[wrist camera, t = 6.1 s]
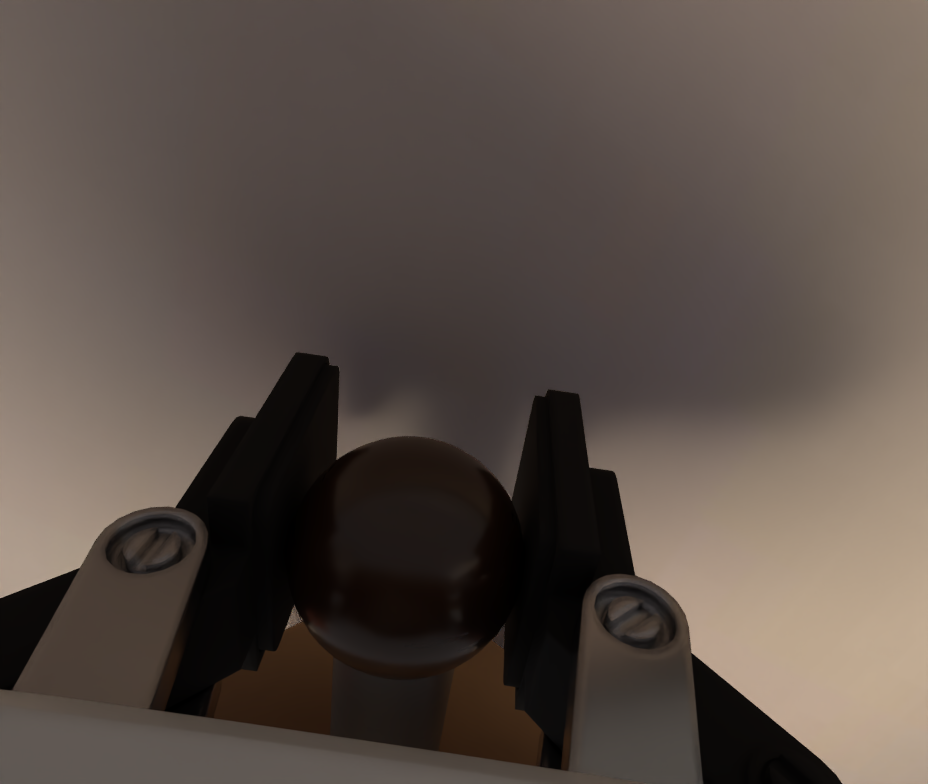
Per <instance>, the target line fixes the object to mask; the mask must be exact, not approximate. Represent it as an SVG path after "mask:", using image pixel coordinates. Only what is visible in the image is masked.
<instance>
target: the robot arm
mask: <svg viewBox="0 0 928 784" xmlns="http://www.w3.org/2000/svg"><path fill="white" fill-rule="evenodd" d="M338 400H339V367H338V366H333V365H330V363H329V358H328V357H327V356H320V355H313V354H307V353H300V352H296V353H295V355H294V356H293V358H292V359H291V361H290V362H289V364H288V366H287V367H286V369H285V371H284V372H283V374H282V375H281V377H280V379H279V380H278V382H277V383H276V385H275V387H274V388H273V390H272V391H271V393H270V395H269V396H268V398H267V400H266V401H265V403H264V404H263V406H262V408H261V409H260V411H259V412H258V414H257V416H256V417H255V418H251V417H245V416H239V417H236V419H235V420H234V421H233V422H232V423H231V425H230V426H229V428H228V429H227V431H226V432H225V434H224V435H223V437H222V438H221V440H220V441H219V443H218V444H217V446H216V447H215V449H214V450H213V452H212V453H211V455H210V456H209V458H208V459H207V461H206V462H205V464H204V465H203V467H202V468H201V470H200V471H199V473H198V474H197V476H196V477H195V479H194V480H193V482H192V483H191V485H190V486H189V488H188V489H187V491H186V492H185V494H184V495H183V497H182V498H181V500H180V501H179V503H178V504H177V506H176V507H175V508H173V507H151V508H147V509H143V510H139V511H134V512H132V513H130V514H128V515H125V516H123V517H121V518H119V519H117V520H116V521H114V522H113V523H112V524H110V525H109V526H108V527H106V528H105V529H104V530H103V531H102V533H101V534H100V535H99V536H98V538H97V539H96V540H95V542H94V544H93V546H92V548H91V549H90V551H89V553H88V555H87V557H86V558H85V560H84V562H83V564H82V566H81V567H80V568H79V569H76V570H73V571H71V572H68V573H66V574H63V575H60V576H58V577H55V578H52V579H50V580H47V581H45V582H42V583H39V584H37V585H34V586H32V587H29V588H26V589H24V590H21V591H18V592H16V593H13V594H11V595H8V596H5V597H3V598H0V784H842V783H841V781H840V780H839V778H838V777H837V776H836V774H835V773H834V772H833V771H832V770H831V769H830V768H829V767H828V766H827V765H826V764H824V763H823V762H822V761H821V760H820V759H819V758H818V757H817V756H816V755H815V754H813V753H812V752H811V751H810V750H808V749H807V748H806V747H805V746H804V745H802V744H801V743H800V742H799V741H798V740H796V739H795V738H794V737H793V736H792V735H790V734H789V733H788V732H787V731H785V730H784V729H783V728H782V727H781V726H779V725H778V724H777V723H776V722H775V721H773V720H772V719H771V718H770V717H769V716H767V715H766V714H765V713H764V712H762V711H761V710H760V709H759V708H758V707H756V706H755V705H754V704H753V703H752V702H750V701H749V700H748V699H747V698H746V697H744V696H743V695H742V694H741V693H739V692H738V691H737V690H736V689H735V688H733V687H732V686H731V685H730V684H729V683H727V682H726V681H725V680H724V679H723V678H721V677H720V676H719V675H718V674H716V673H715V672H714V671H713V670H712V669H710V668H709V667H708V666H707V665H706V664H704V663H703V662H702V661H701V660H700V659H698V658H697V657H696V656H695V655H693V654H692V653H691V645H690V634H689V626H688V622H687V619H686V615H685V613H684V612H683V610H682V608H681V607H680V605H679V604H678V602H677V601H676V600H675V599H674V598H673V597H672V596H671V595H670V594H669V593H668V592H667V591H665V590H664V589H662V588H661V587H659V586H658V585H656V584H654V583H653V582H651V581H648V580H646V579H643V578H640V577H637V576H635V572H634V567H633V562H632V557H631V551H630V546H629V541H628V535H627V530H626V525H625V520H624V514H623V509H622V504H621V499H620V493H619V488H618V483H617V478H616V475H615V473H614V472H613V471H609V470H602V469H596V468H589V463H588V456H587V448H586V441H585V434H584V426H583V419H582V412H581V405H580V397H579V394H576V393H569V392H563V391H556V390H549V389H548V390H547V393H546V396H545V397H542V396H536V395H535V397H534V400H533V404H532V409H531V414H530V418H529V423H528V428H527V432H526V437H525V442H524V446H523V451H522V456H521V460H520V465H519V470H518V474H517V479H516V484H515V488H514V493H513V497H512V503H513V506H514V508H515V510H516V513H517V515H518V518H519V522H520V526H521V530H522V535H523V542H524V567H523V575H522V581H521V586H520V590H519V593H518V596H517V599H516V602H515V605H514V607H513V609H512V611H511V613H510V615H509V617H508V618H507V620H506V622H505V635H504V669H503V683H504V685H505V686H511V687H515V709H516V710H522V711H525V712H526V713H527V714H528V715H529V717H530V718H531V719H532V720H533V721H534V722H535V723H536V724H537V725H538V726H539V727H540V728H541V729H542V730H541V734H540V737H539V745H538V753H537V761H536V766H531V765H524V764H518V763H511V762H505V761H498V760H492V759H485V758H479V757H472V756H465V755H459V754H452V753H446V752H439V751H432V750H425V749H419V748H412V747H405V746H398V745H392V744H385V743H378V742H371V741H365V740H358V739H351V738H344V737H337V736H331V735H324V734H317V733H310V732H303V731H296V730H290V729H283V728H276V727H269V726H262V725H255V724H249V723H242V722H235V721H228V720H221V719H214V715H215V711H216V707H217V704H218V700H219V696H220V692H221V686H222V679H224V678H226V677H228V676H230V675H232V674H233V673H235V672H237V671H239V670H241V669H244V670H250V671H257V670H258V668H259V665H260V663H261V660H262V658H263V655H264V652H265V650H267V651H273V652H275V651H276V650H277V648H278V646H279V644H280V641H281V639H282V636H283V633H284V631H285V628H286V625H287V622H288V620H289V617H290V614H291V612H292V609H293V606H294V601H293V598H292V595H291V592H290V587H289V583H288V575H287V546H288V539H289V534H290V530H291V526H292V523H293V520H294V517H295V514H296V512H297V510H298V508H299V506H300V504H301V502H302V500H303V498H304V496H305V494H306V493H307V491H308V490H309V489H310V487H311V486H312V485H313V483H314V482H315V481H316V479H317V478H318V477H319V476H320V475H321V474H322V473H323V472H324V471H325V470H326V469H327V468H328V467H329V466H330V465H331V464H332V463H334V462H335V461H336V457H337V429H338Z"/></svg>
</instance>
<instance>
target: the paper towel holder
mask: <svg viewBox="0 0 928 784" xmlns="http://www.w3.org/2000/svg"><path fill="white" fill-rule="evenodd" d="M523 567H524V542H523V535H522V530H521V526H520V522H519V518H518V515H517V513H516V510H515V508H514V506H513V503H512V501H511V499H510V497H509V495H508V494H507V492H506V491H505V489H504V488H503V486H502V485H501V483H500V482H499V480H498V479H497V478H496V477H495V476H494V474H493V473H492V472H491V471H489V470H488V469H487V468H486V467H485V466H484V465H483V464H482V463H481V462H480V461H478V460H477V459H476V458H474V457H473V456H471V455H470V454H468V453H466V452H465V451H463V450H461V449H459V448H457V447H455V446H453V445H451V444H448V443H445V442H442V441H439V440H435V439H430V438H425V437H415V436H401V437H391V438H386V439H381V440H377V441H374V442H371V443H368V444H365V445H362V446H360V447H358V448H356V449H354V450H352V451H351V452H349V453H347V454H345V455H344V456H342V457H340V458H339V459H338V460H336V461H335V462H334V463H332V464H331V465H330V466H329V467H328V468H327V469H326V470H325V471H324V472H323V473H322V474H321V475H320V476H319V477H318V478H317V479H316V481H315V482H314V483H313V485H312V486H311V487H310V489H309V490H308V491H307V493H306V494H305V496H304V498H303V500H302V502H301V504H300V506H299V508H298V510H297V512H296V514H295V517H294V520H293V523H292V526H291V530H290V534H289V539H288V546H287V575H288V583H289V587H290V592H291V595H292V598H293V601H294V604H295V607H296V609H297V611H298V614H299V616H300V618H301V619H302V621H303V622H301V623H299V624H297V625H295V626H292V627H290V628H288V629H286V630H285V631H284V633H283V636H282V639H281V641H280V644H279V646H278V648H277V650H276V651H275V652H273V651H267V650H265V652H264V655H263V658H262V660H261V663H260V665H259V668H258V670H257V671H250V670H244V669H241V670H239V671H237V672H235V673H233V674H232V675H230V676H228V677H226V678H224V679H222V686H221V692H220V696H219V700H218V704H217V707H216V711H215V715H214V719H221V720H228V721H235V722H242V723H249V724H255V725H262V726H269V727H276V728H283V729H290V730H296V731H303V732H310V733H317V734H324V735H331V736H337V737H344V738H351V739H358V740H365V741H371V742H378V743H385V744H392V745H398V746H405V747H412V748H419V749H425V750H432V751H439V752H446V753H452V754H459V755H465V756H472V757H479V758H485V759H492V760H498V761H505V762H511V763H518V764H524V765H531V766H536V761H537V753H538V745H539V737H540V734H541V730H542V729H541V728H540V727H539V726H538V725H537V724H536V723H535V722H534V721H533V720H532V719H531V718H530V717H529V715H528V714H527V713H526V712H525V711H522V710H516V709H515V687H511V686H505V685H504V683H503V669H504V649H503V648H501V647H500V646H499V645H497V644H496V643H494V642H493V641H492V639H493V638H494V637H495V636H496V635H497V634H498V632H499V631H500V629H501V628H502V626H503V625H504V623H505V622H506V620H507V618H508V617H509V615H510V613H511V611H512V609H513V607H514V605H515V602H516V599H517V596H518V593H519V590H520V586H521V581H522V575H523Z"/></svg>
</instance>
